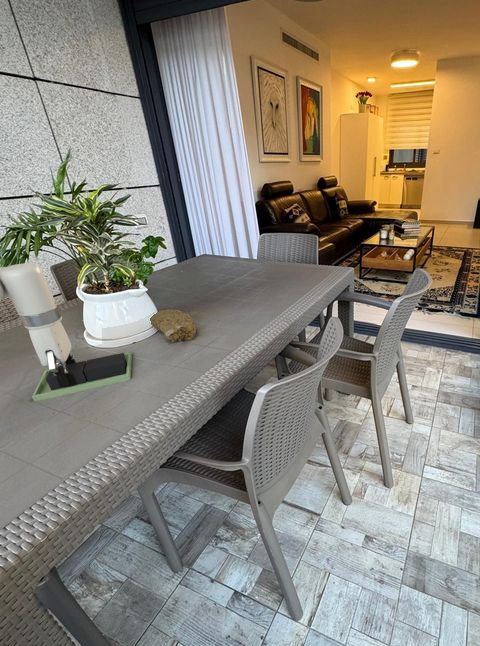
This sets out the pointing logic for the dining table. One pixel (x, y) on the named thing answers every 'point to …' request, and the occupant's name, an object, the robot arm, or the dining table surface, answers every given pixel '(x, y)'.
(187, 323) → the sponge
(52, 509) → the dining table surface
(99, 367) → the pad
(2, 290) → the robot arm
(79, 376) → the pad
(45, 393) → the tray
